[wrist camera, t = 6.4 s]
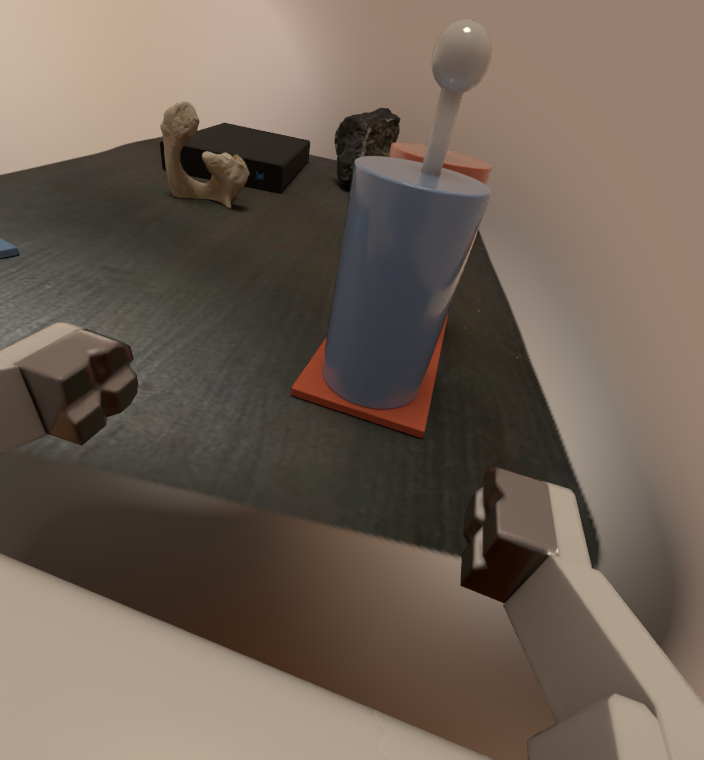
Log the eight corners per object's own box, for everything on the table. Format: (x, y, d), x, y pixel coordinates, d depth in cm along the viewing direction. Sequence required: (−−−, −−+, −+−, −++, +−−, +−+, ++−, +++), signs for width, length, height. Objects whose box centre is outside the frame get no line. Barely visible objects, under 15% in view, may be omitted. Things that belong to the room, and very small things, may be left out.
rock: (377, 185, 61) (392, 108, 55) (393, 199, 56) (412, 115, 50) (328, 178, 59) (338, 97, 53) (339, 192, 54) (352, 104, 47)
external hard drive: (308, 161, 67) (310, 140, 65) (280, 193, 48) (282, 166, 46) (223, 143, 66) (223, 122, 64) (162, 169, 47) (159, 140, 46)
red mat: (422, 439, 19) (424, 431, 19) (290, 395, 20) (290, 387, 19) (446, 320, 29) (448, 314, 29) (358, 295, 30) (359, 289, 30)
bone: (270, 184, 44) (247, 90, 35) (252, 228, 42) (221, 139, 33) (199, 173, 45) (158, 78, 36) (177, 215, 43) (127, 125, 34)
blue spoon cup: (393, 426, 19) (534, 6, 10) (301, 376, 20) (348, -19, 11) (434, 374, 23) (560, 42, 14) (354, 336, 24) (419, 19, 15)
